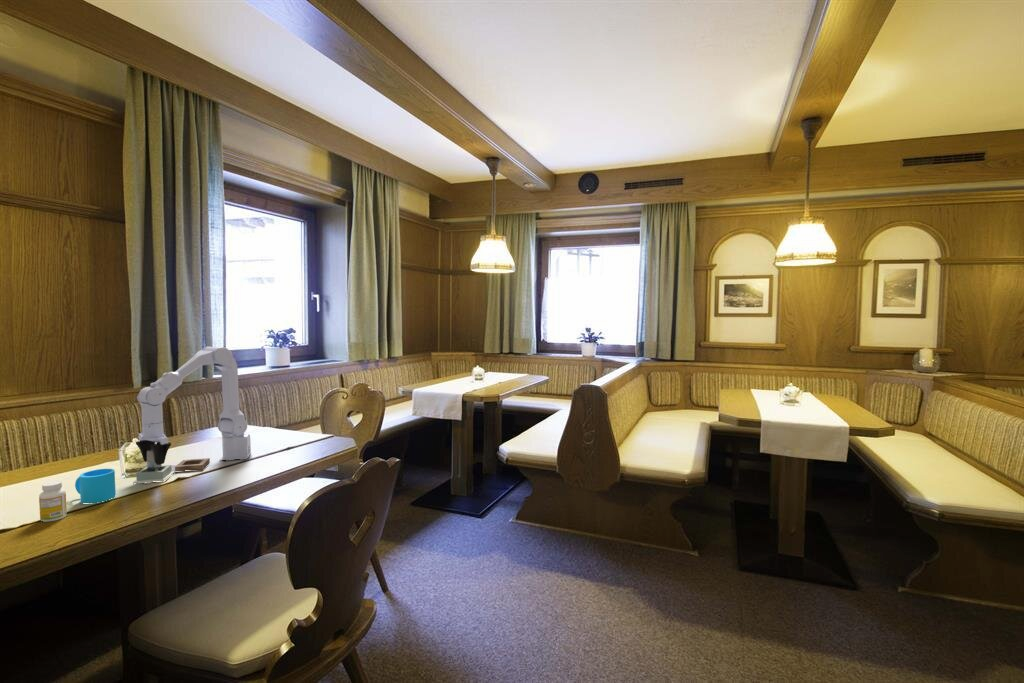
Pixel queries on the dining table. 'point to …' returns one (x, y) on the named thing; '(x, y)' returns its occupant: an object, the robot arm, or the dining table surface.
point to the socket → (192, 464)
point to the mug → (96, 485)
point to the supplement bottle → (52, 502)
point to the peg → (152, 462)
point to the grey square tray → (153, 475)
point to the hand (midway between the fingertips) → (154, 462)
